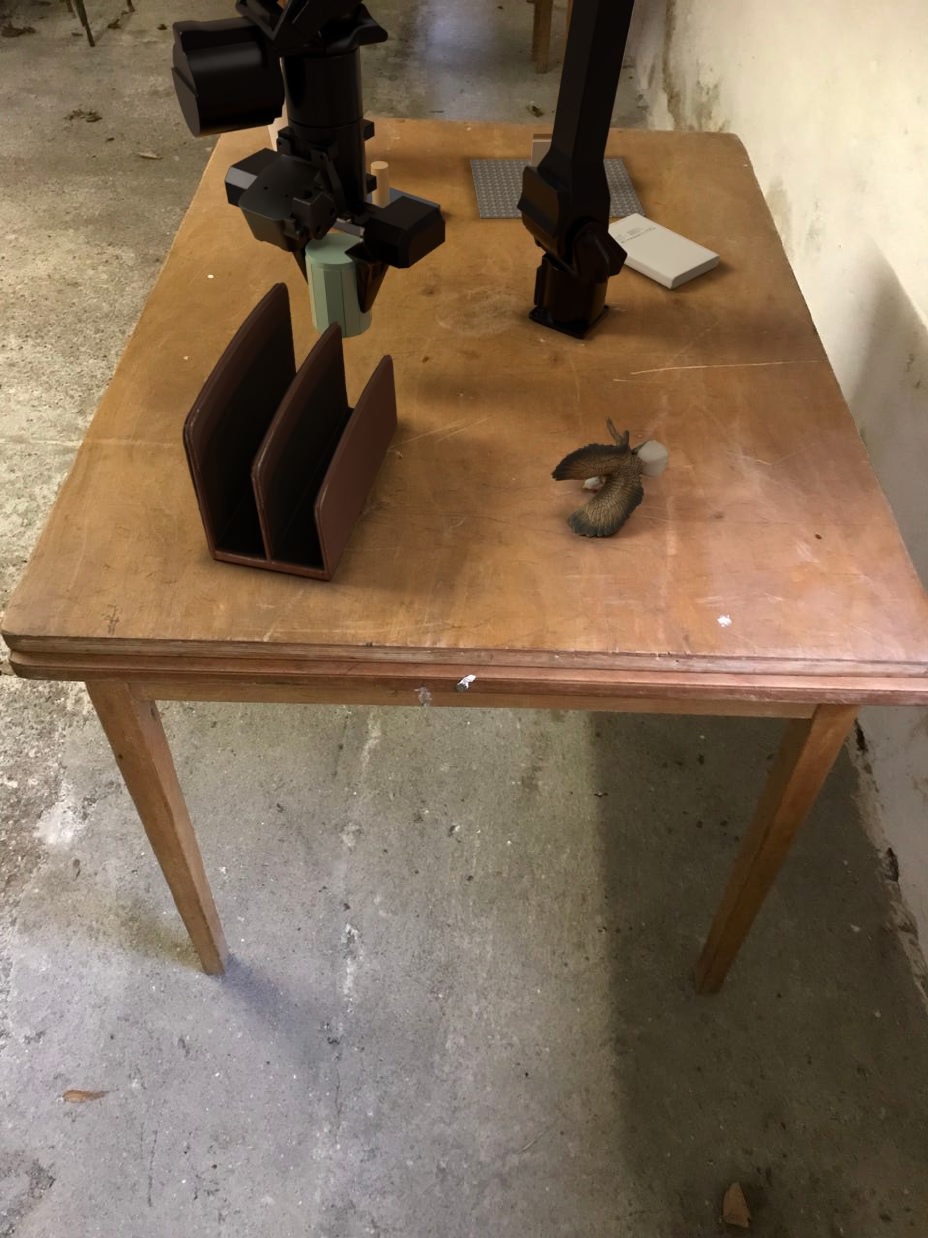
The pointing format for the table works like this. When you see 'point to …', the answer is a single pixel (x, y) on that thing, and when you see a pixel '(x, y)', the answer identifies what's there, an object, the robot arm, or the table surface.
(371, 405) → the letter holder
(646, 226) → the hard drive
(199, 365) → the table surface
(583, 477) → the eagle figurine
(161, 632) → the table surface
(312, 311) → the mint canister
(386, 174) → the cup stand
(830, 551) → the table surface
